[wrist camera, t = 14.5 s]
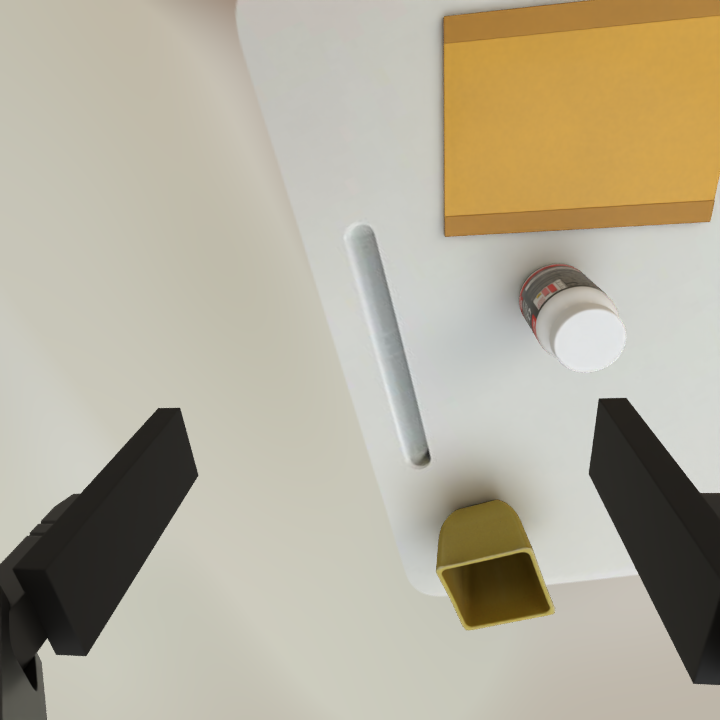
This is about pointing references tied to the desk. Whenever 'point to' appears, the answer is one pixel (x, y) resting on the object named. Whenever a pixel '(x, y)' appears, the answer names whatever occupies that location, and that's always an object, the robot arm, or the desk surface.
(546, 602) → the flower pot
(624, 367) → the desk surface
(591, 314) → the pill bottle
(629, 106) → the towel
